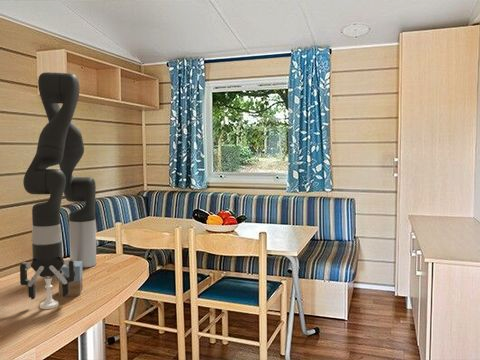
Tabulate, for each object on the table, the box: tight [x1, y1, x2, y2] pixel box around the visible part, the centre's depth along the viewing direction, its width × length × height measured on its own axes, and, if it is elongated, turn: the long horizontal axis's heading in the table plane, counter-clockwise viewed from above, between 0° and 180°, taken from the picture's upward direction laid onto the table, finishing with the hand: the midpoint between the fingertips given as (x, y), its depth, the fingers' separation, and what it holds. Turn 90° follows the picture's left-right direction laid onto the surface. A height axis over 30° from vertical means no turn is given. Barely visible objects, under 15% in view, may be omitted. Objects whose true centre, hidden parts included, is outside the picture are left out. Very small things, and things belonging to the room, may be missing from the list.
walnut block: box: [58, 276, 84, 298], centre depth 129 cm, size 6×6×4 cm
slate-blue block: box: [58, 261, 84, 283], centre depth 129 cm, size 6×6×4 cm
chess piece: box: [39, 276, 60, 310], centre depth 118 cm, size 5×5×10 cm
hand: (48, 297), depth 118 cm, fingers open, 7 cm apart
